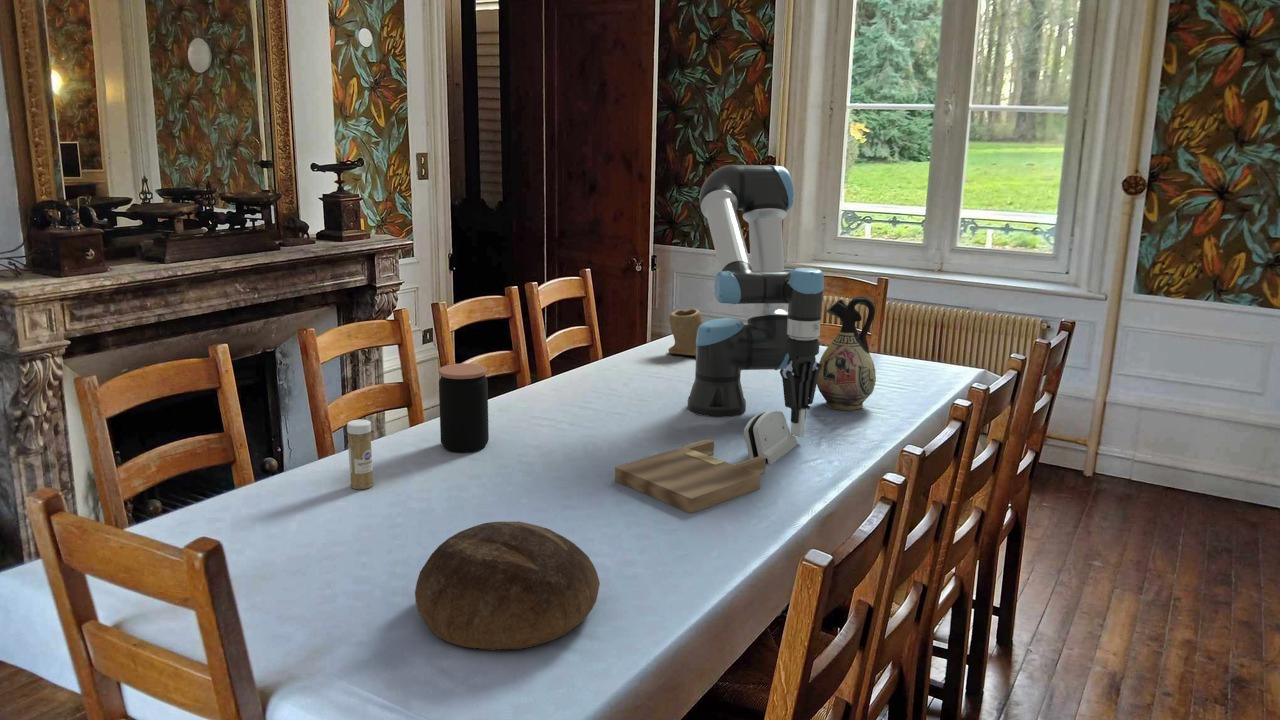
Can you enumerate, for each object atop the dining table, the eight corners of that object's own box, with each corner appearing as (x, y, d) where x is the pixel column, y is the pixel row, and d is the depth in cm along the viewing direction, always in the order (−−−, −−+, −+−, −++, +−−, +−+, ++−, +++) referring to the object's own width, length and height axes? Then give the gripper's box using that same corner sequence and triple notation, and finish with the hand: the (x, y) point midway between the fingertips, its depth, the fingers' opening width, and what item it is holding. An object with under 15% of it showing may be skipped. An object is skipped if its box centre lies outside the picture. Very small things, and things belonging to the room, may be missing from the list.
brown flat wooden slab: (613, 480, 197) (613, 465, 196) (707, 451, 215) (707, 438, 214) (690, 513, 181) (691, 497, 180) (784, 479, 199) (785, 464, 198)
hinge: (770, 464, 208) (758, 421, 207) (751, 467, 210) (739, 424, 210) (798, 444, 222) (787, 402, 221) (780, 447, 224) (768, 406, 224)
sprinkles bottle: (365, 491, 188) (362, 426, 185) (345, 488, 189) (341, 424, 186) (378, 483, 192) (375, 420, 189) (358, 480, 194) (355, 417, 190)
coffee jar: (497, 442, 218) (496, 366, 214) (470, 456, 209) (469, 377, 204) (459, 435, 223) (457, 361, 218) (431, 449, 213) (428, 371, 209)
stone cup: (661, 356, 303) (662, 310, 299) (677, 349, 313) (678, 304, 310) (704, 362, 296) (706, 315, 293) (719, 354, 307) (721, 309, 303)
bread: (522, 680, 126) (521, 589, 123) (380, 621, 140) (376, 539, 137) (629, 601, 147) (631, 522, 144) (497, 557, 161) (496, 484, 158)
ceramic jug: (808, 410, 249) (815, 296, 241) (820, 395, 262) (827, 287, 255) (874, 418, 242) (884, 302, 235) (883, 403, 256) (892, 293, 249)
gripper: (798, 343, 210) (792, 445, 216) (833, 335, 219) (826, 433, 224) (772, 337, 215) (766, 436, 221) (807, 330, 224) (801, 426, 230)
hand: (797, 435), depth 223 cm, fingers closed
